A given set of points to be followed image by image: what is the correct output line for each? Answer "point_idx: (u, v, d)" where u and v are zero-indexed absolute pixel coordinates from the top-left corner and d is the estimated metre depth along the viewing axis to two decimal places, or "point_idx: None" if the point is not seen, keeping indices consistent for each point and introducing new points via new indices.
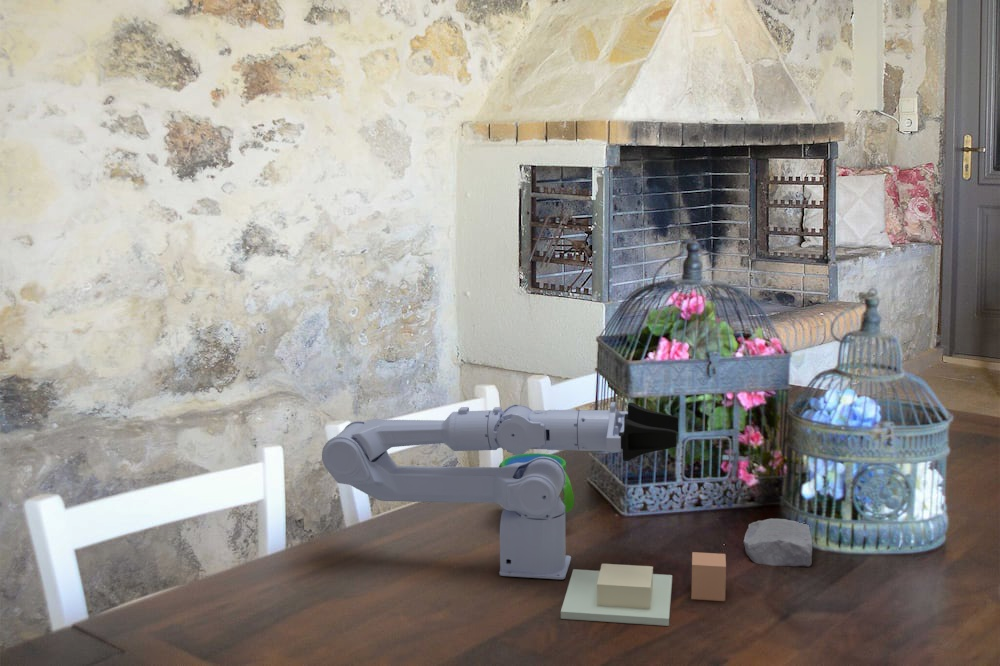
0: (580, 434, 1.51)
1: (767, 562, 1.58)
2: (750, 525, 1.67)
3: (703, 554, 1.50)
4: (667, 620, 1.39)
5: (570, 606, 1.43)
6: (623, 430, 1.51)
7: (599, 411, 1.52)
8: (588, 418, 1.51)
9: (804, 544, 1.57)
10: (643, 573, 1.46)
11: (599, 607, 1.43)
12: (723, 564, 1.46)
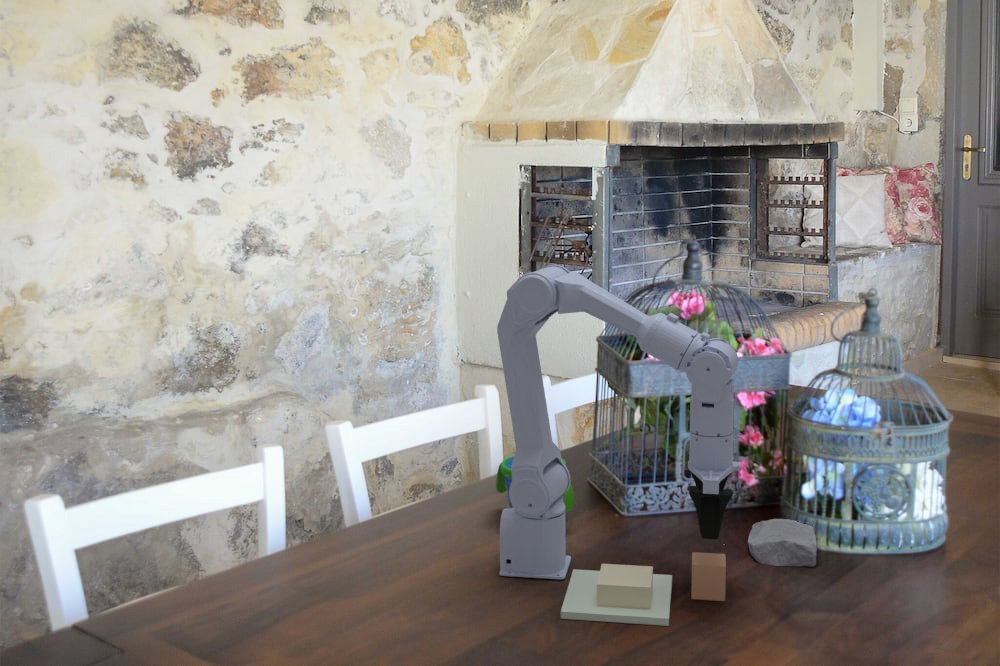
0: (712, 440, 1.42)
1: (772, 562, 1.58)
2: (754, 525, 1.67)
3: (703, 554, 1.50)
4: (667, 620, 1.39)
5: (570, 606, 1.43)
6: None
7: (732, 452, 1.45)
8: (728, 445, 1.43)
9: (809, 544, 1.57)
10: (643, 573, 1.46)
11: (599, 607, 1.43)
12: (723, 564, 1.46)
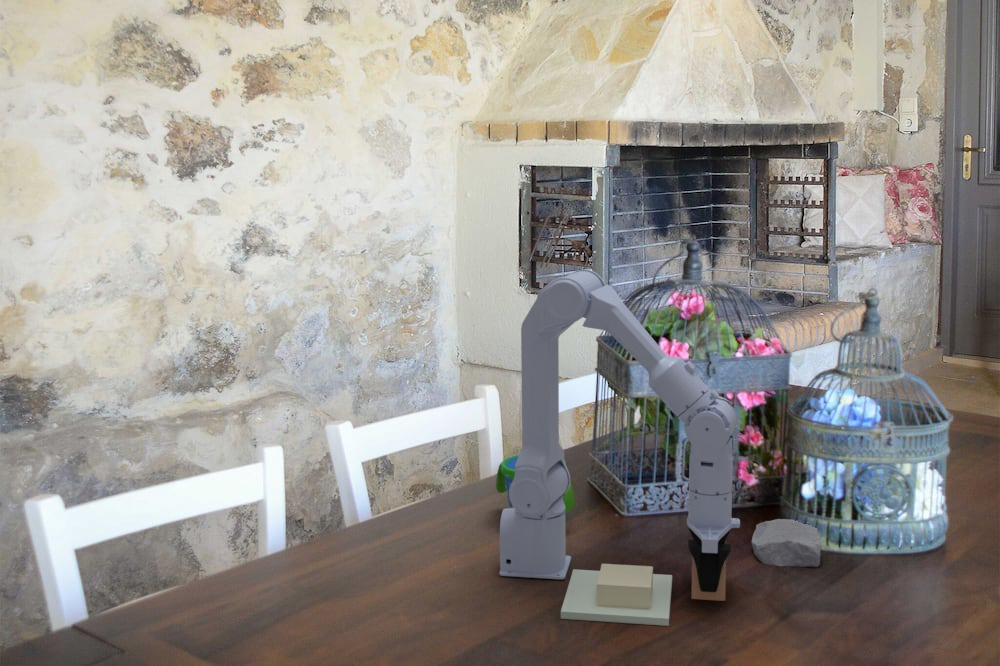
0: (711, 498, 1.44)
1: (775, 563, 1.58)
2: (758, 526, 1.67)
3: None
4: (667, 620, 1.39)
5: (570, 606, 1.43)
6: None
7: None
8: (727, 503, 1.45)
9: (813, 545, 1.57)
10: (643, 573, 1.46)
11: (599, 607, 1.43)
12: (723, 564, 1.46)
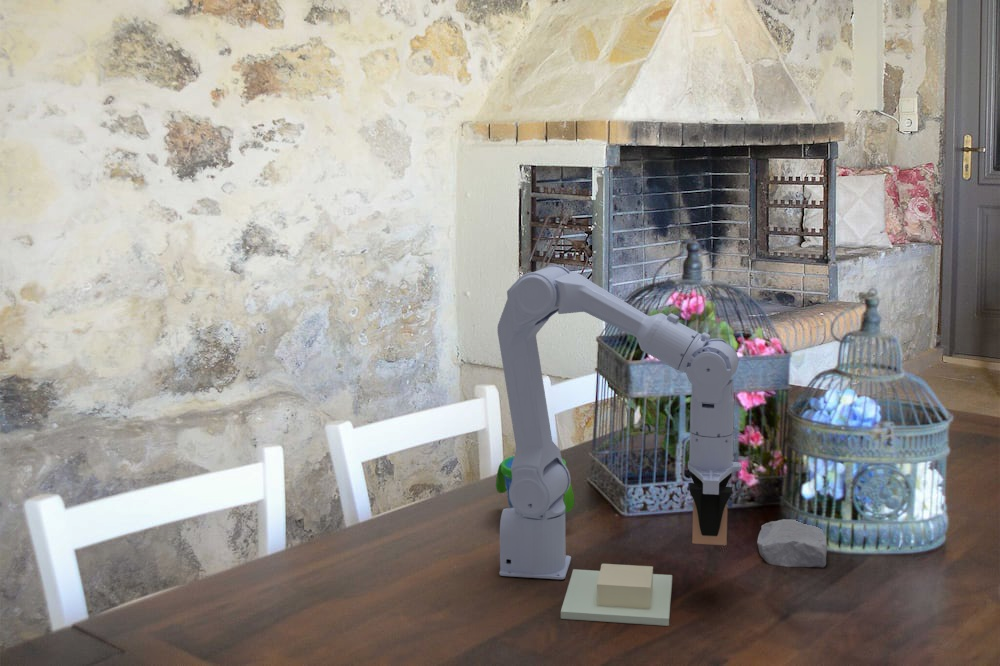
0: (712, 440, 1.42)
1: (781, 563, 1.58)
2: (763, 526, 1.67)
3: None
4: (667, 620, 1.39)
5: (570, 606, 1.43)
6: None
7: (732, 453, 1.45)
8: (728, 446, 1.43)
9: (819, 545, 1.57)
10: (643, 573, 1.46)
11: (599, 607, 1.43)
12: (725, 507, 1.45)
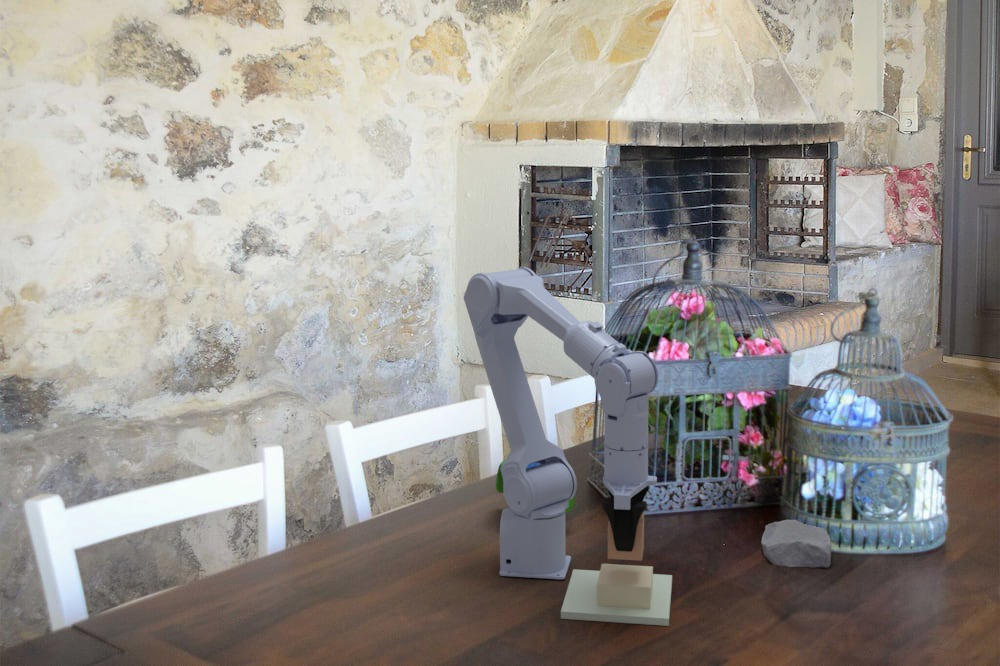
0: (625, 454, 1.40)
1: (786, 563, 1.58)
2: (767, 526, 1.67)
3: None
4: (667, 620, 1.39)
5: (570, 606, 1.43)
6: None
7: (647, 467, 1.42)
8: (642, 460, 1.40)
9: (823, 545, 1.57)
10: (643, 573, 1.46)
11: (599, 607, 1.43)
12: (640, 522, 1.42)
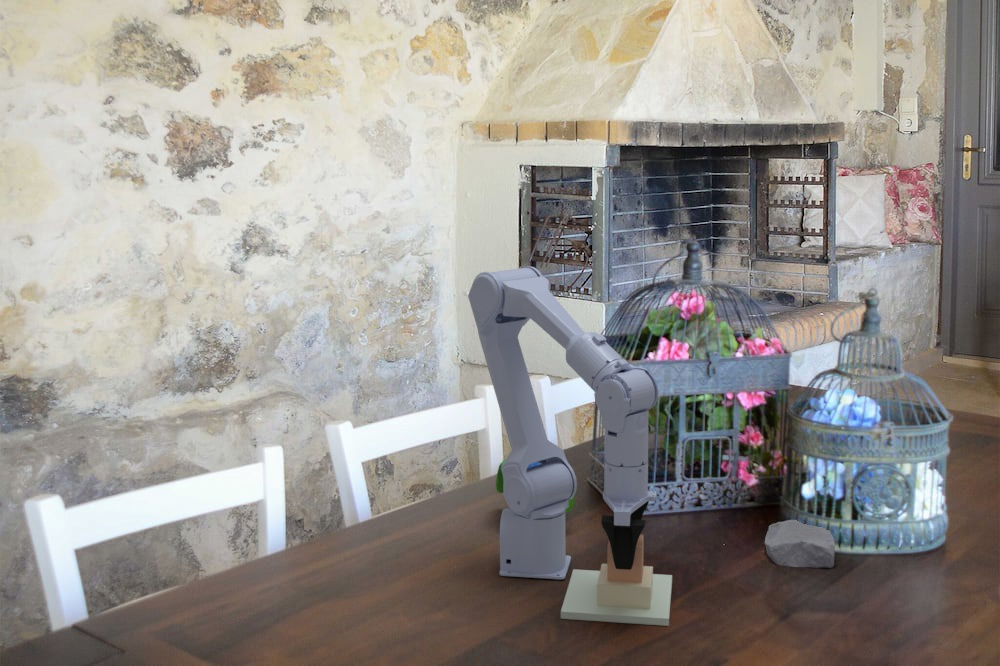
0: (625, 470, 1.40)
1: (789, 564, 1.58)
2: (770, 526, 1.67)
3: None
4: (667, 620, 1.39)
5: (570, 606, 1.43)
6: None
7: (647, 482, 1.43)
8: (642, 476, 1.41)
9: (827, 545, 1.57)
10: (643, 573, 1.46)
11: (599, 607, 1.43)
12: (640, 545, 1.43)
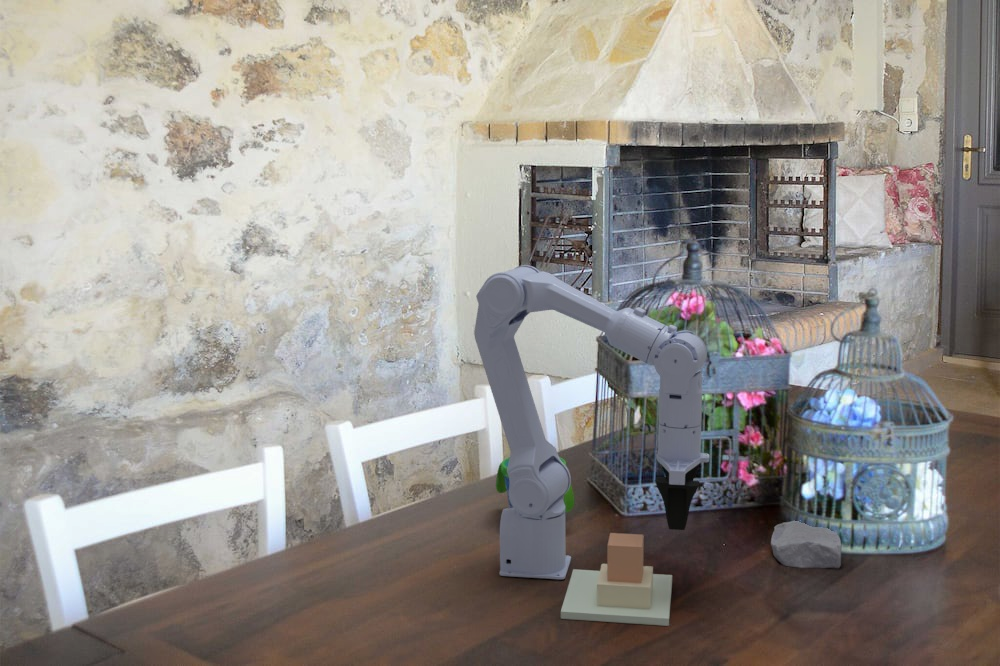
0: (680, 431, 1.43)
1: (796, 564, 1.58)
2: (776, 527, 1.66)
3: (621, 535, 1.46)
4: (667, 620, 1.39)
5: (570, 606, 1.43)
6: None
7: (700, 444, 1.46)
8: (695, 437, 1.44)
9: (834, 546, 1.57)
10: (643, 573, 1.46)
11: (599, 607, 1.43)
12: (640, 545, 1.43)
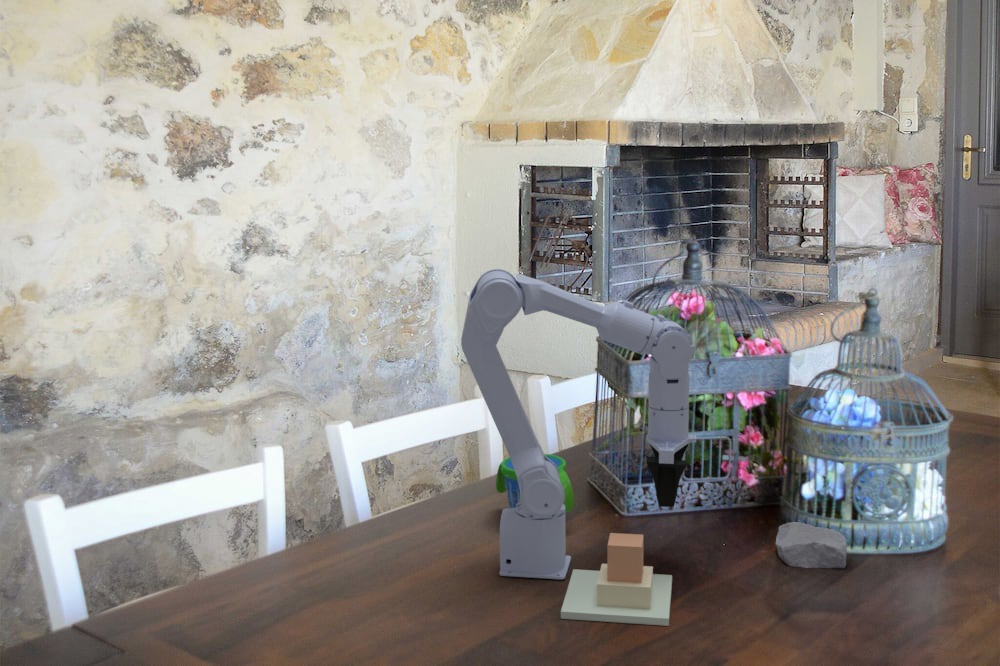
0: (668, 413, 1.52)
1: (801, 564, 1.57)
2: (780, 527, 1.66)
3: (621, 535, 1.46)
4: (667, 620, 1.39)
5: (570, 606, 1.43)
6: None
7: None
8: (683, 419, 1.53)
9: (839, 546, 1.56)
10: (643, 573, 1.46)
11: (599, 607, 1.43)
12: (640, 545, 1.43)
